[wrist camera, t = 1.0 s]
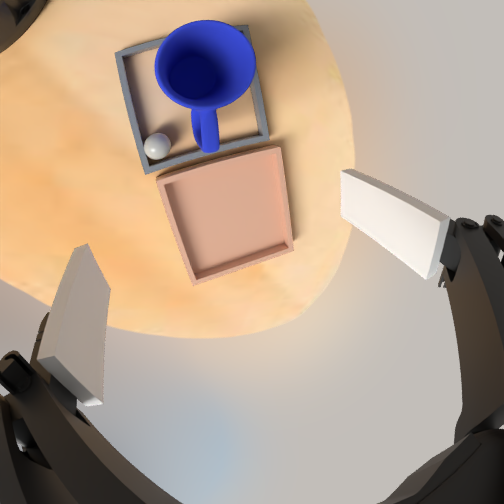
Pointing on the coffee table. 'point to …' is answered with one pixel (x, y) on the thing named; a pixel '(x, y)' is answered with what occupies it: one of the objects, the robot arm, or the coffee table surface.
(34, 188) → the coffee table surface
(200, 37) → the mug
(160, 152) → the pebble
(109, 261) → the coffee table surface
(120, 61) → the slate bin
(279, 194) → the terracotta dish
